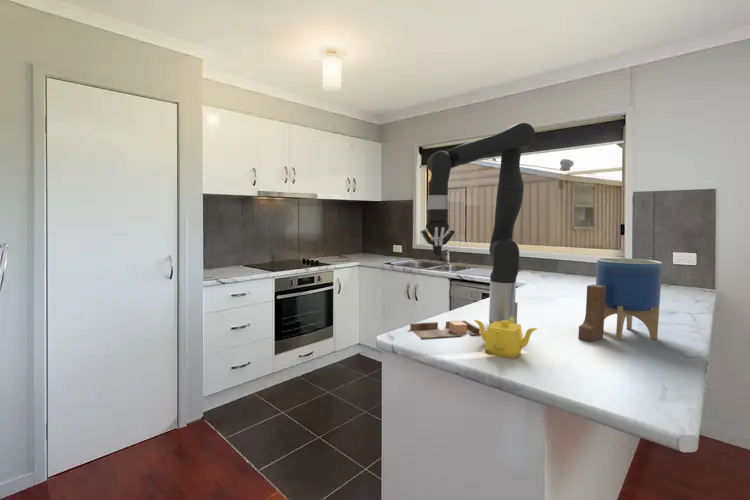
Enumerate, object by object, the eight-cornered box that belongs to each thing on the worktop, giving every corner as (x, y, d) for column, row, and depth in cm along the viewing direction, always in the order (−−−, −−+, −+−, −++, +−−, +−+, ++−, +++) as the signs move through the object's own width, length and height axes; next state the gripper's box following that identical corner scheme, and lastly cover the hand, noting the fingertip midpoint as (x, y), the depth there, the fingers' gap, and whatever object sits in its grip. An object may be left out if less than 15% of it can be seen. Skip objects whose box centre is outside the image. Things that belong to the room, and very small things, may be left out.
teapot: (495, 361, 111) (496, 328, 110) (471, 346, 125) (472, 316, 124) (539, 357, 114) (540, 325, 114) (511, 343, 128) (512, 314, 127)
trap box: (464, 329, 143) (464, 320, 143) (480, 339, 131) (481, 329, 131) (410, 333, 138) (410, 323, 138) (422, 343, 126) (422, 333, 126)
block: (461, 329, 138) (461, 321, 138) (466, 333, 133) (467, 324, 133) (449, 330, 137) (449, 321, 137) (454, 333, 132) (455, 325, 132)
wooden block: (591, 342, 129) (594, 288, 128) (577, 338, 133) (580, 286, 131) (603, 337, 135) (606, 286, 133) (590, 334, 138) (592, 284, 137)
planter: (587, 333, 139) (590, 260, 137) (600, 323, 153) (604, 256, 151) (652, 346, 126) (657, 265, 124) (661, 333, 140) (665, 260, 138)
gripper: (450, 208, 146) (449, 255, 147) (416, 208, 142) (416, 255, 144) (459, 208, 138) (458, 256, 140) (424, 207, 135) (423, 257, 137)
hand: (436, 256), depth 142 cm, fingers closed
